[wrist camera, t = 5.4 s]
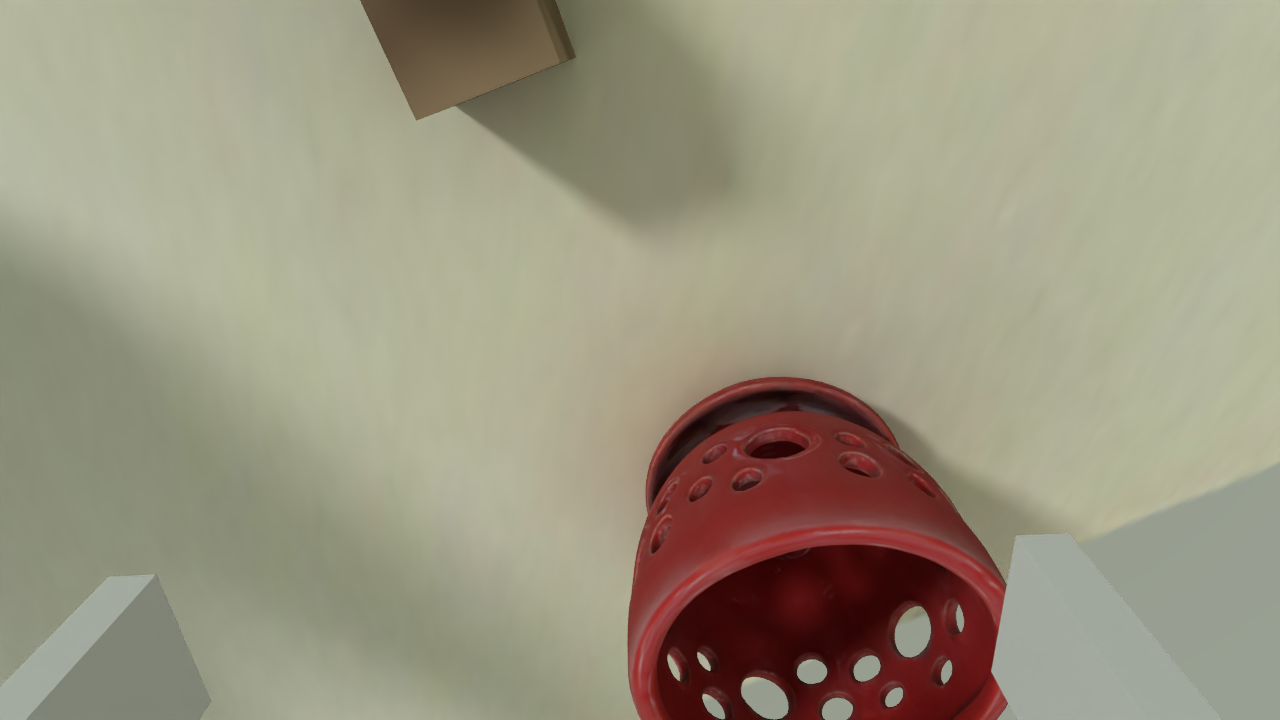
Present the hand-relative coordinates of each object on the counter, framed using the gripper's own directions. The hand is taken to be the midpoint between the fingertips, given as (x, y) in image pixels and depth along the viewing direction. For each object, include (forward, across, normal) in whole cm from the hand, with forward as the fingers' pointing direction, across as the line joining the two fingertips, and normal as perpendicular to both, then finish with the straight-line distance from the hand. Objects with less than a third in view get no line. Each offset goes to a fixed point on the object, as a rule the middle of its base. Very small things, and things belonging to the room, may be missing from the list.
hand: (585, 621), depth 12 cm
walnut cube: (+21, +4, -9) cm, 23 cm away
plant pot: (+21, -6, +12) cm, 24 cm away
